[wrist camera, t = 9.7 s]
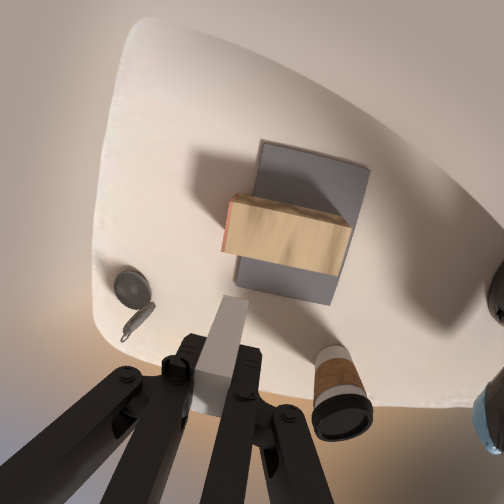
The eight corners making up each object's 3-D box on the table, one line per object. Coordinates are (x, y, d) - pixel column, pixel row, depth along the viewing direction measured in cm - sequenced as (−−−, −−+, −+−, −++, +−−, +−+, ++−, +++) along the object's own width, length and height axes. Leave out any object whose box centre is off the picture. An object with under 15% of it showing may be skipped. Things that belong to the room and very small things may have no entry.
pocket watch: (118, 264, 45) (85, 291, 36) (166, 281, 45) (139, 314, 36) (114, 306, 48) (85, 338, 39) (159, 323, 48) (135, 360, 39)
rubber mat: (369, 169, 37) (370, 169, 37) (329, 303, 44) (329, 305, 44) (264, 143, 37) (264, 143, 37) (235, 284, 44) (235, 285, 44)
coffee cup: (308, 340, 47) (314, 410, 33) (360, 337, 46) (381, 404, 32) (306, 378, 49) (310, 447, 35) (354, 375, 48) (369, 442, 34)
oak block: (237, 193, 39) (342, 216, 39) (229, 236, 41) (330, 258, 41) (229, 201, 34) (351, 228, 33) (221, 251, 36) (337, 276, 35)
